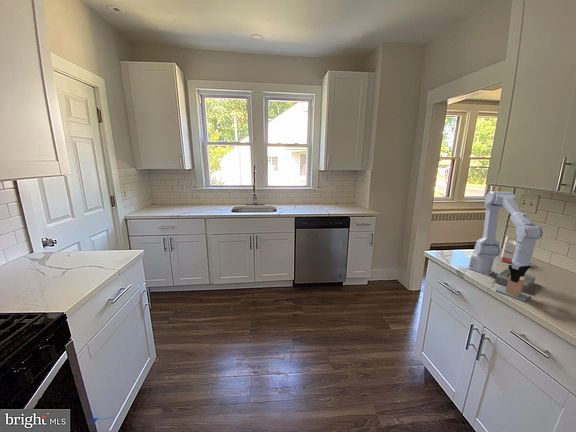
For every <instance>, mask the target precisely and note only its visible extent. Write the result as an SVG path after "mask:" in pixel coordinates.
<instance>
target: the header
mask: <svg viewBox="0 0 576 432" xmlns="http://www.w3.org/2000/svg"><path fill="white" fill-rule="evenodd" d="M510 275H511V274H510V270H509V268H506V269H504V270H503V271H501V272H499V273H498V274H497V275H496V276H495V279H494V283H495V284H498V285H501V286H502V285H503V286H507V282H508V278H509V276H510ZM523 277H525V281H524V285H523V289H522V292H523V293H525V292H526V291H528V290H529V289H530V287H532V286H533V285H534V284H535V281H536V276H534V275H532V274H528V273H525V275H524V276H523Z"/></svg>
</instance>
